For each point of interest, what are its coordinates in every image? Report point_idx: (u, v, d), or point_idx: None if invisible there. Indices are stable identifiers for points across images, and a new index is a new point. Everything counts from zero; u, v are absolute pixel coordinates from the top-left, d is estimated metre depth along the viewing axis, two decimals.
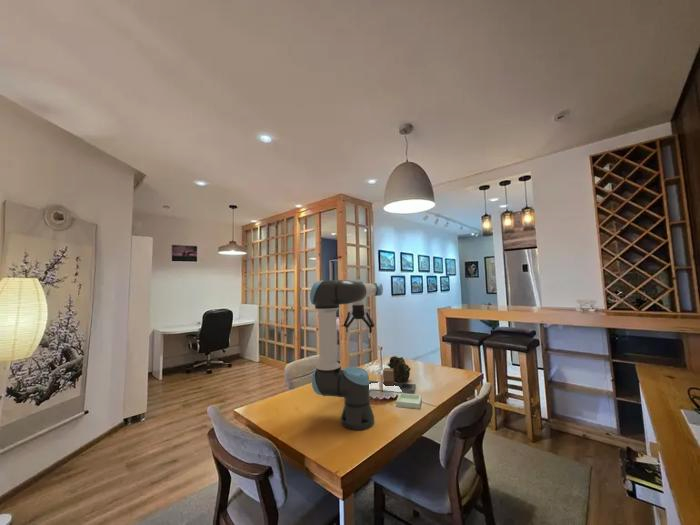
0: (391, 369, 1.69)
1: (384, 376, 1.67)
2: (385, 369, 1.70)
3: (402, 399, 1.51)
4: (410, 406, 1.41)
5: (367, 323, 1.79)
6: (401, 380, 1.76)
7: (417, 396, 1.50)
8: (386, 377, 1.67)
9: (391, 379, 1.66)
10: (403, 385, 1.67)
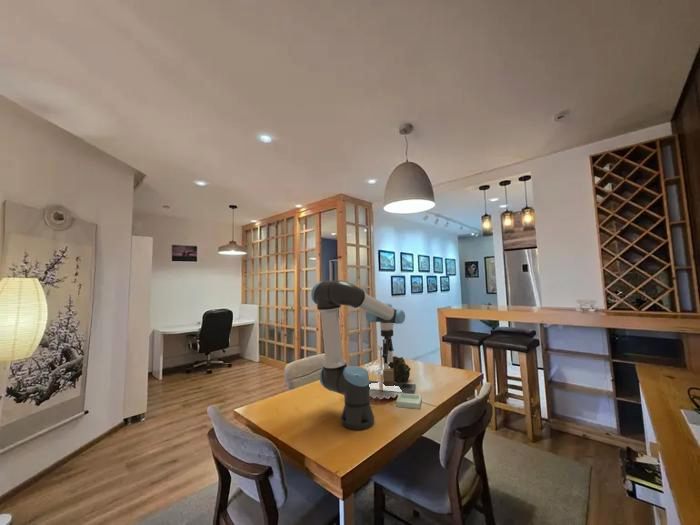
0: (391, 369, 1.69)
1: (384, 376, 1.67)
2: (385, 369, 1.70)
3: (402, 399, 1.51)
4: (410, 406, 1.41)
5: None
6: (401, 380, 1.76)
7: (417, 396, 1.50)
8: (386, 377, 1.67)
9: (391, 379, 1.66)
10: (403, 385, 1.67)
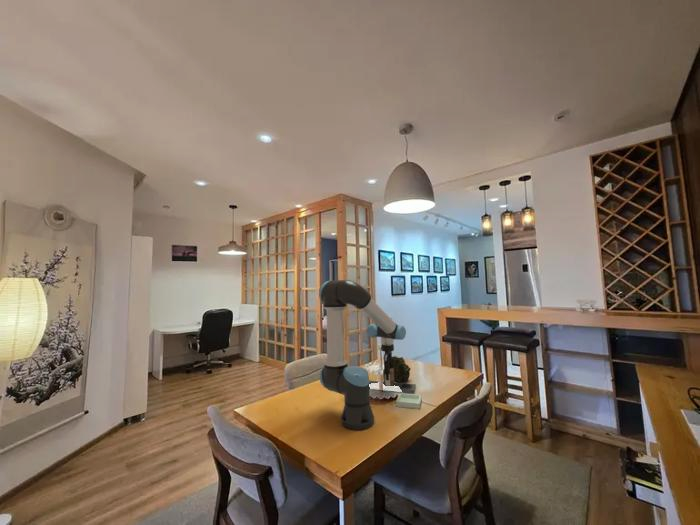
0: (391, 369, 1.69)
1: (384, 376, 1.67)
2: None
3: (402, 399, 1.51)
4: (410, 406, 1.41)
5: None
6: (401, 380, 1.76)
7: (417, 396, 1.50)
8: None
9: (391, 379, 1.66)
10: (403, 385, 1.67)
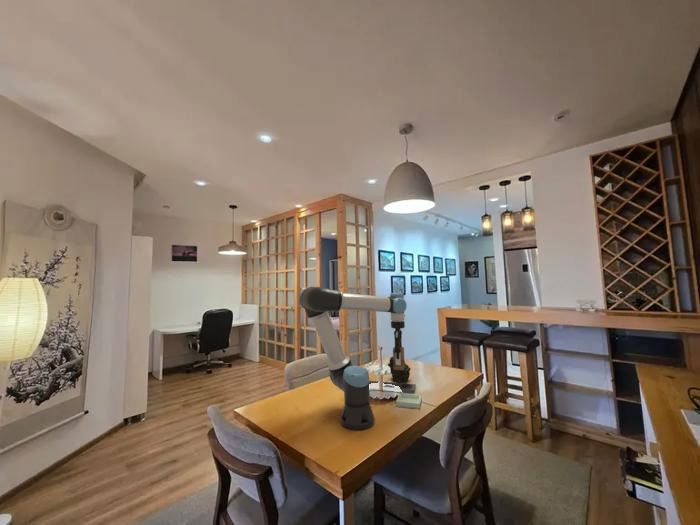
0: (401, 348, 1.57)
1: (394, 355, 1.55)
2: None
3: (402, 399, 1.51)
4: (410, 406, 1.41)
5: None
6: (401, 380, 1.76)
7: (417, 396, 1.50)
8: None
9: (402, 358, 1.53)
10: (403, 385, 1.67)
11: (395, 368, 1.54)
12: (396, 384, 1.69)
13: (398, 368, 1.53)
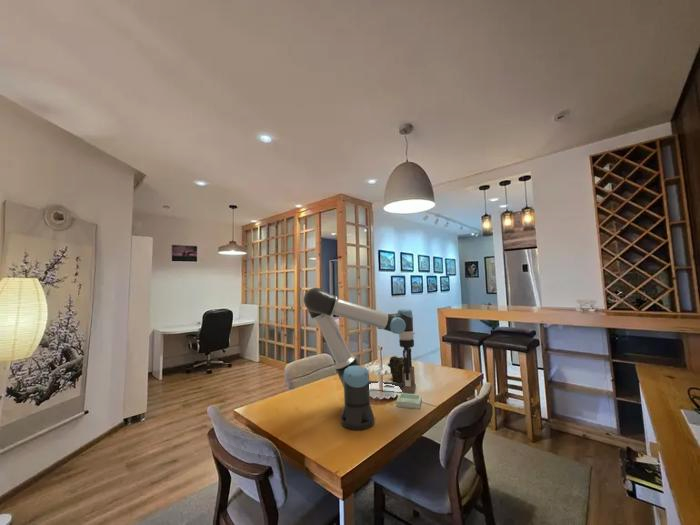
0: (411, 367, 1.48)
1: (404, 375, 1.46)
2: None
3: (402, 399, 1.51)
4: (410, 406, 1.41)
5: None
6: (401, 380, 1.76)
7: (417, 396, 1.50)
8: None
9: (412, 379, 1.45)
10: None
11: (404, 389, 1.46)
12: (396, 384, 1.69)
13: (408, 389, 1.45)
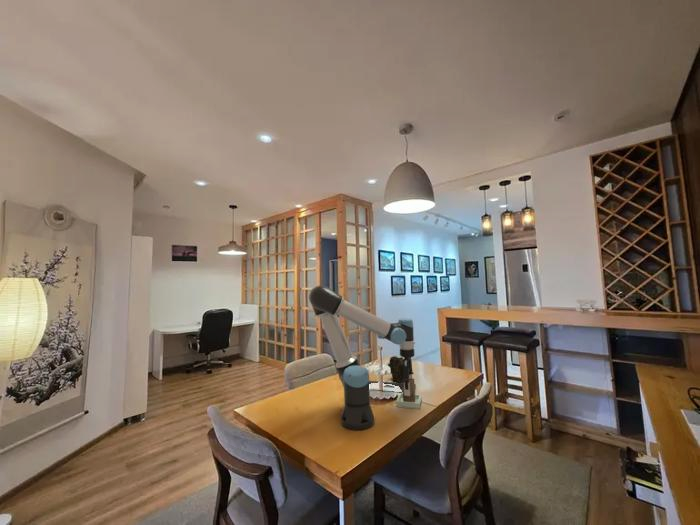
0: (411, 380, 1.48)
1: None
2: None
3: (402, 399, 1.51)
4: (410, 406, 1.41)
5: None
6: (401, 380, 1.76)
7: (417, 396, 1.50)
8: None
9: (412, 391, 1.44)
10: None
11: None
12: (396, 384, 1.69)
13: None
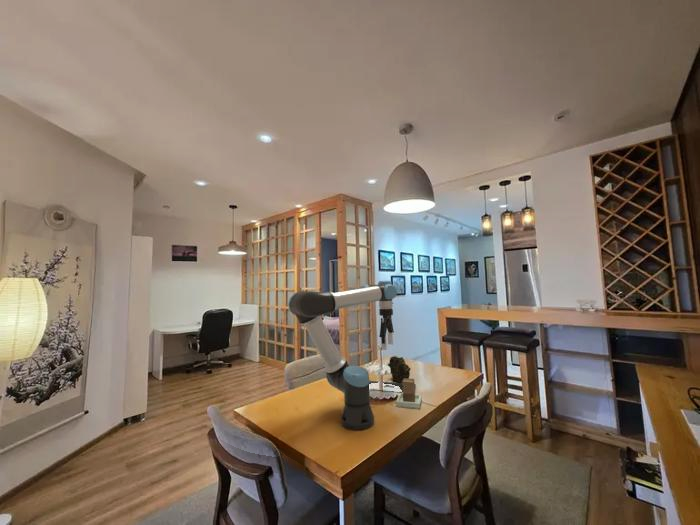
0: (411, 380, 1.48)
1: (404, 388, 1.46)
2: (404, 380, 1.48)
3: (402, 399, 1.51)
4: (410, 406, 1.41)
5: None
6: (401, 380, 1.76)
7: (417, 396, 1.50)
8: (406, 389, 1.45)
9: (412, 391, 1.44)
10: None
11: None
12: (396, 384, 1.69)
13: None
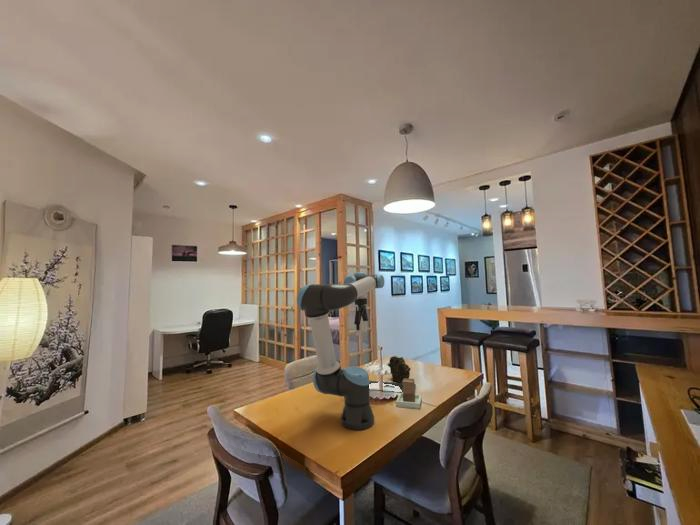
0: (411, 380, 1.48)
1: (404, 388, 1.46)
2: (404, 380, 1.48)
3: (402, 399, 1.51)
4: (410, 406, 1.41)
5: None
6: (401, 380, 1.76)
7: (417, 396, 1.50)
8: (406, 389, 1.45)
9: (412, 391, 1.44)
10: None
11: None
12: (396, 384, 1.69)
13: None
